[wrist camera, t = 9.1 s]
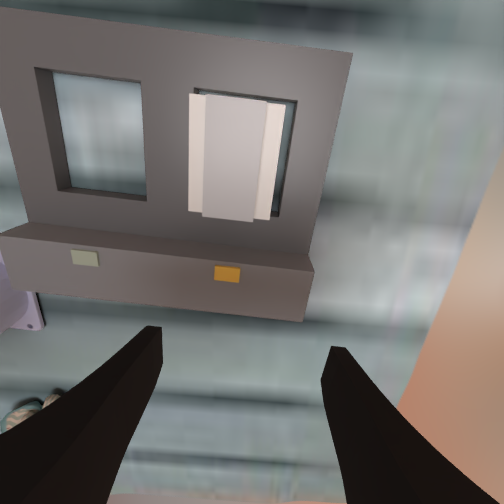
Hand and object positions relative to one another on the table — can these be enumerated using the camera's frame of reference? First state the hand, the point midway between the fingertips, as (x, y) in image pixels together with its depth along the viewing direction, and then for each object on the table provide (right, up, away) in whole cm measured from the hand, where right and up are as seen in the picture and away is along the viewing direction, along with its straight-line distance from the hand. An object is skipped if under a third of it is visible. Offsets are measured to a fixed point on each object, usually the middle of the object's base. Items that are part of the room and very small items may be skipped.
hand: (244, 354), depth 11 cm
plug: (0, +11, +6) cm, 13 cm away
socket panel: (-5, +10, +7) cm, 13 cm away
